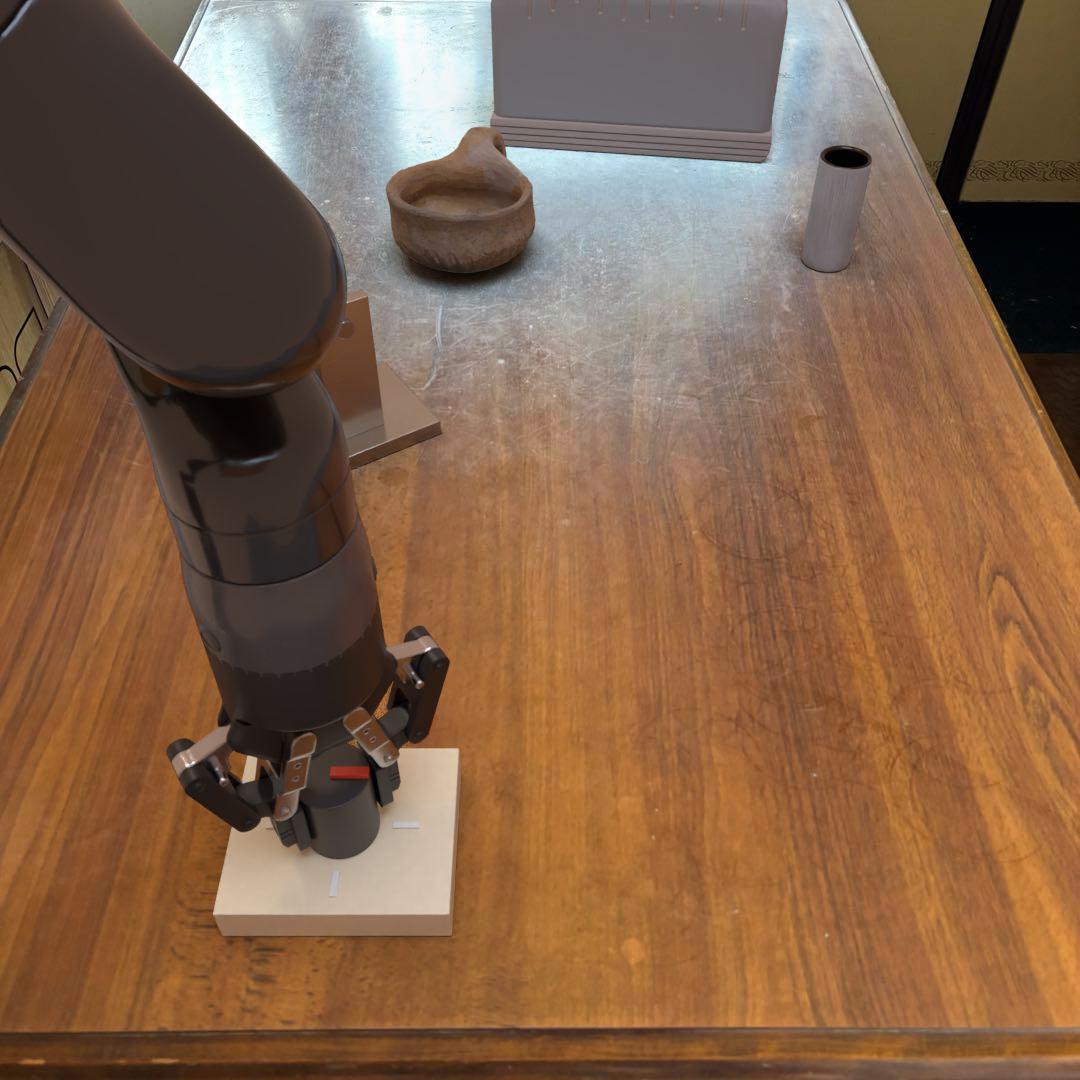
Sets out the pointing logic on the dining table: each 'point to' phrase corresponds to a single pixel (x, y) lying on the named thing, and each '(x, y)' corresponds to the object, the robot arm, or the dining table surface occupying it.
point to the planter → (835, 207)
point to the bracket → (371, 392)
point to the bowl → (463, 207)
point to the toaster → (638, 75)
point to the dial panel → (354, 867)
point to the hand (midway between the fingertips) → (339, 813)
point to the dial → (340, 803)
